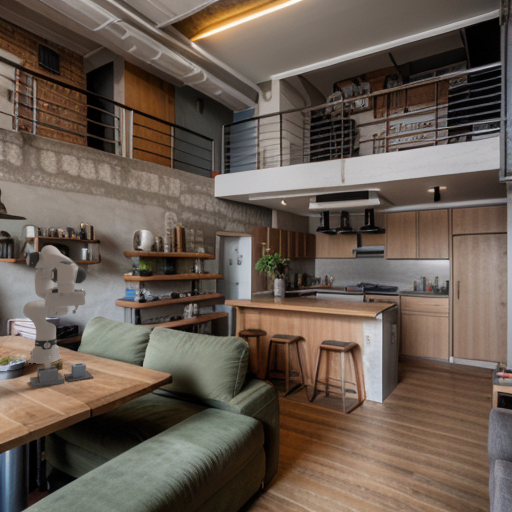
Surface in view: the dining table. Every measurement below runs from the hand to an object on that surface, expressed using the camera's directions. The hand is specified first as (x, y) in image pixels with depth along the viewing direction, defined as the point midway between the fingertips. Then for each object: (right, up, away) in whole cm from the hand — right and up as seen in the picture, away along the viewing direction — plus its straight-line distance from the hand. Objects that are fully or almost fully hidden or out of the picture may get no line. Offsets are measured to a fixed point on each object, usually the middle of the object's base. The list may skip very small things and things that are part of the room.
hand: (65, 314), depth 200 cm
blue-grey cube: (+10, -33, -5) cm, 35 cm away
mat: (+10, -34, -5) cm, 36 cm away
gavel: (-8, -35, +2) cm, 36 cm away
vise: (-1, -34, -15) cm, 37 cm away
